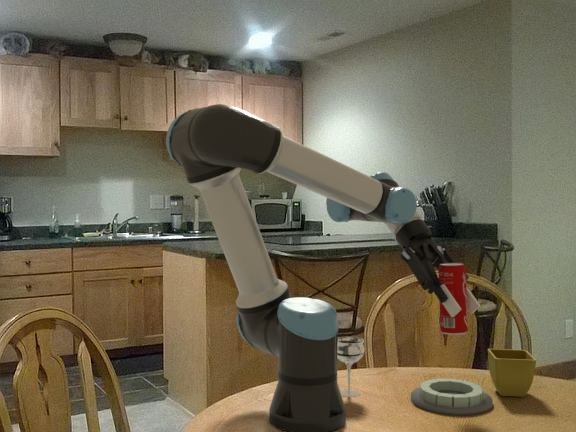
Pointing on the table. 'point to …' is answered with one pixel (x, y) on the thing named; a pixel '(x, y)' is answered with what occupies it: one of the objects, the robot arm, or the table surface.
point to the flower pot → (511, 371)
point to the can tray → (451, 409)
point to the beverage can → (456, 284)
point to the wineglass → (350, 357)
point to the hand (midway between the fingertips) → (466, 311)
